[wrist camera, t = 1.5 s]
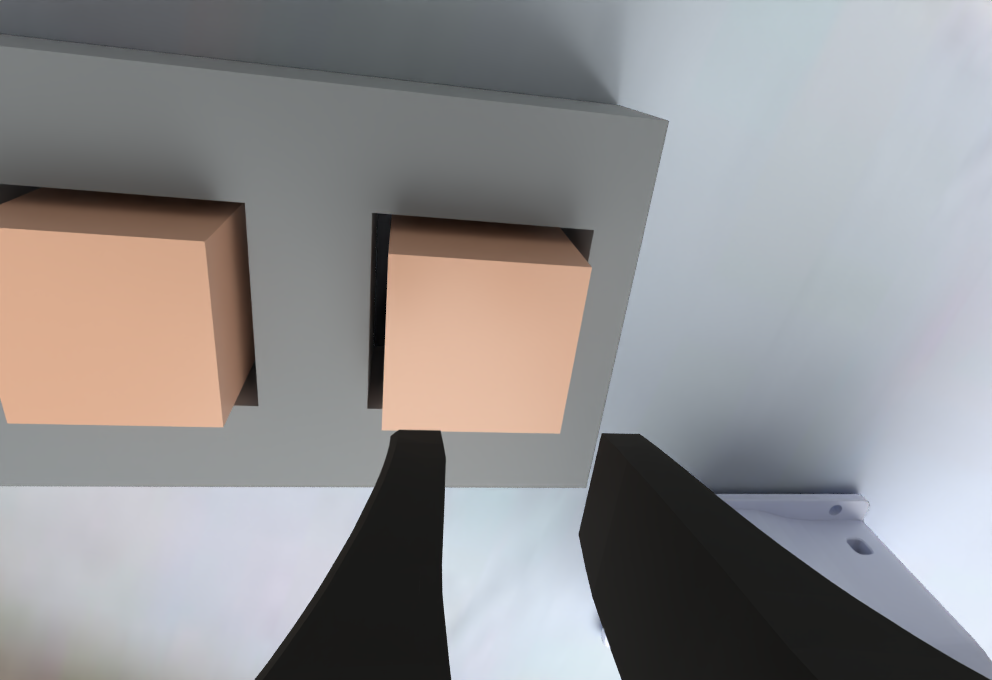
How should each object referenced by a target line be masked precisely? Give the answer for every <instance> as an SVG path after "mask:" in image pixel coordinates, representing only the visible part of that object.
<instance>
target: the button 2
mask: <svg viewBox="0 0 992 680" xmlns="http://www.w3.org/2000/svg"><path fill="white" fill-rule="evenodd" d="M591 271H592V267H591V266H590V264H589V263H588V262H587V261H586V259H585V258H584V257H583V256H582V254H581V253H580V252H579V251H578V249H577V248H576V247H575V246H574V245H573V243H572V242H571V241H570V240H569V238H568V237H567V236H566V235H565V233H564V232H563V231H562V230H561V228H560V227H548V226H536V225H523V224H510V223H497V222H484V221H471V220H458V219H446V218H433V217H420V216H407V215H394V214H392V217H391V229H390V240H389V252H388V276H387V302H386V329H385V355H384V382H383V408H382V430H390V431H398V430H441V431H445V432H499V433H554V434H560V431H561V426H562V421H563V416H564V411H565V405H566V400H567V395H568V390H569V385H570V379H571V374H572V369H573V364H574V359H575V354H576V348H577V343H578V338H579V333H580V328H581V322H582V317H583V312H584V307H585V302H586V296H587V291H588V286H589V281H590V276H591Z"/></svg>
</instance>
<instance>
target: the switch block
mask: <svg viewBox="0 0 992 680" xmlns="http://www.w3.org/2000/svg"><path fill="white" fill-rule="evenodd" d="M668 123H669V121H667V120H664V119H661V118H658V117H655V116H652V115H648V114H645V113H642V112H639V111H636V110H633V109H629V108H626V107H623V106H620V105H614V104H605V103H597V102H588V101H579V100H571V99H562V98H553V97H545V96H536V95H527V94H518V93H510V92H501V91H492V90H484V89H475V88H466V87H458V86H449V85H440V84H432V83H423V82H414V81H406V80H397V79H388V78H380V77H371V76H362V75H354V74H345V73H336V72H327V71H319V70H310V69H301V68H293V67H284V66H275V65H267V64H258V63H249V62H241V61H232V60H223V59H215V58H206V57H197V56H189V55H180V54H171V53H163V52H154V51H145V50H136V49H128V48H119V47H110V46H102V45H93V44H84V43H76V42H67V41H58V40H50V39H41V38H32V37H24V36H15V35H6V34H0V204H2V203H5V202H7V201H10V200H12V199H15V198H17V197H20V196H22V195H24V194H27V193H29V192H32V191H34V190H37V189H39V188H42V187H48V188H61V189H73V190H86V191H99V192H112V193H125V194H138V195H150V196H163V197H176V198H189V199H202V200H215V201H227V202H240V203H245V212H246V227H247V242H248V257H249V271H250V286H251V301H252V316H253V331H254V345H255V361H254V363H253V365H252V368H251V370H250V372H249V374H248V376H247V378H246V380H245V382H244V385H243V387H242V389H241V391H240V393H239V395H238V397H237V399H236V401H235V404H234V406H233V408H232V410H231V412H230V414H229V416H228V418H227V421H226V423H225V425H224V427H173V426H118V425H64V424H9V423H7V420H6V417H5V413H4V410H3V406H2V403H1V399H0V486H119V487H374V486H375V484H376V482H377V479H378V477H379V475H380V472H381V470H382V467H383V464H384V461H385V458H386V455H387V452H388V448H389V443H390V436H391V435H392V434H394V433H395V432H396V431H390V430H382V408H383V382H384V355H385V346H374V329H375V295H376V260H377V225H378V213H381V214H394V215H407V216H420V217H433V218H446V219H458V220H471V221H484V222H497V223H510V224H523V225H536V226H548V227H560V228H561V230H562V231H563V232H564V233H565V235H566V236H567V237H568V238H569V240H570V241H571V242H572V243H573V245H574V246H575V247H576V248H577V249H578V251H579V252H580V253H581V254H582V256H583V257H584V258H585V259H586V261H587V262H588V263H589V264H590V266H591V267H592V271H591V276H590V281H589V286H588V291H587V296H586V302H585V307H584V312H583V317H582V322H581V328H580V333H579V338H578V343H577V348H576V354H575V359H574V364H573V369H572V374H571V379H570V385H569V390H568V395H567V400H566V405H565V411H564V416H563V421H562V426H561V431H560V434H554V433H499V432H445V431H441V435H442V439H443V444H444V450H445V455H446V473H445V487H484V488H586V486H587V481H588V477H589V473H590V468H591V464H592V459H593V455H594V450H595V446H596V442H597V437H598V433H599V428H600V424H601V420H602V415H603V411H604V406H605V402H606V397H607V393H608V389H609V384H610V380H611V375H612V371H613V366H614V362H615V358H616V353H617V349H618V344H619V340H620V335H621V331H622V327H623V322H624V318H625V313H626V309H627V305H628V300H629V296H630V291H631V287H632V282H633V278H634V274H635V269H636V265H637V260H638V256H639V251H640V247H641V243H642V238H643V234H644V229H645V225H646V220H647V216H648V212H649V207H650V203H651V198H652V194H653V190H654V185H655V181H656V176H657V172H658V167H659V163H660V159H661V154H662V150H663V145H664V141H665V136H666V132H667V128H668Z"/></svg>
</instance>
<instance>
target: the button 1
mask: <svg viewBox="0 0 992 680" xmlns="http://www.w3.org/2000/svg"><path fill="white" fill-rule="evenodd" d="M254 361H255V345H254V331H253V316H252V301H251V286H250V271H249V257H248V242H247V227H246V212H245V203H240V202H227V201H215V200H202V199H189V198H176V197H163V196H150V195H138V194H125V193H112V192H99V191H86V190H73V189H61V188H48V187H42V188H39V189H37V190H34V191H32V192H29V193H27V194H24V195H22V196H20V197H17V198H15V199H12V200H10V201H7V202H5V203H2V204H0V399H1V403H2V406H3V410H4V413H5V417H6V420H7V423H9V424H64V425H118V426H173V427H224V425H225V423H226V421H227V418H228V416H229V414H230V412H231V410H232V408H233V406H234V404H235V401H236V399H237V397H238V395H239V393H240V391H241V389H242V387H243V385H244V382H245V380H246V378H247V376H248V374H249V372H250V370H251V368H252V365H253V363H254Z"/></svg>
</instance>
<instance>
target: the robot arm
mask: <svg viewBox="0 0 992 680" xmlns="http://www.w3.org/2000/svg"><path fill="white" fill-rule="evenodd" d="M445 473H446V455H445V450H444V444H443V439H442V435H441V430H398V431H396V432H395V433H394V434H392V435H391V436H390V443H389V448H388V452H387V455H386V458H385V461H384V464H383V467H382V470H381V472H380V475H379V477H378V479H377V482H376V484H375V486H374V489H373V491H372V493H371V495H370V497H369V499H368V501H367V503H366V505H365V507H364V509H363V511H362V513H361V515H360V517H359V519H358V521H357V523H356V526H355V527H354V529H353V531H352V533H351V535H350V537H349V539H348V540H347V542H346V544H345V545H344V547H343V549H342V550H341V552H340V554H339V556H338V557H337V559H336V561H335V562H334V564H333V566H332V567H331V569H330V571H329V572H328V574H327V576H326V578H325V579H324V581H323V583H322V584H321V586H320V587H319V589H318V591H317V592H316V594H315V595H314V597H313V598H312V600H311V601H310V603H309V604H308V606H307V607H306V609H305V610H304V612H303V613H302V615H301V616H300V618H299V619H298V621H297V622H296V624H295V625H294V627H293V628H292V629H291V631H290V632H289V634H288V635H287V636H286V638H285V639H284V641H283V642H282V644H281V645H280V646H279V648H278V649H277V651H276V652H275V653H274V655H273V656H272V658H271V659H270V660H269V662H268V663H267V664H266V666H265V667H264V668H263V669H262V671H261V672H260V673H259V675H258V676H257V677H256V679H255V680H451V674H450V666H449V656H448V646H447V636H446V626H445V616H444V606H443V596H442V549H443V524H444V499H445ZM869 506H870V505H869V502H868V501H867V500H866V499H865V498H864V497H863V496H862V495H859V494H714V493H713V492H712V491H711V490H710V489H708V488H707V487H706V486H705V485H703V484H702V483H701V482H700V481H699V480H697V479H696V478H695V477H694V476H692V475H691V474H690V473H689V472H688V471H686V470H685V469H684V468H683V467H681V466H680V465H679V464H678V463H676V462H675V461H674V460H673V459H672V458H670V457H669V456H668V455H667V454H665V453H664V452H663V451H662V450H660V449H659V448H658V447H656V446H655V445H654V444H652V443H651V442H650V441H648V440H647V439H646V438H644V437H643V436H641V435H640V434H609V433H602V435H601V439H600V443H599V448H598V452H597V456H596V461H595V465H594V470H593V474H592V478H591V483H590V487H589V491H588V496H587V500H586V504H585V509H584V513H583V518H582V522H581V526H580V531H579V538H580V543H581V548H582V553H583V558H584V563H585V567H586V572H587V576H588V580H589V584H590V589H591V593H592V597H593V600H594V603H595V606H596V609H597V612H598V615H599V617H600V620H601V623H602V626H603V629H602V632H601V638H602V641H603V644H604V645H605V646H606V647H609V648H610V649H611V652H612V654H613V657H614V660H615V663H616V665H617V668H618V671H619V674H620V677H621V679H622V680H992V661H991V660H990V659H989V657H988V656H987V654H986V653H985V651H984V650H983V649H982V648H981V647H980V646H979V644H978V643H977V642H976V641H975V640H974V639H973V638H972V636H971V635H970V634H969V633H968V632H967V631H966V630H965V629H964V628H963V627H962V626H961V625H960V624H959V623H958V622H957V621H956V619H955V618H954V617H953V616H952V615H951V614H950V613H949V612H948V611H947V610H946V609H945V608H944V607H943V606H942V605H941V604H940V603H939V601H938V600H937V599H936V598H935V597H934V596H933V595H932V594H931V593H930V592H929V591H928V590H927V589H926V588H925V587H924V586H923V585H922V583H921V582H920V581H919V580H918V579H917V578H916V577H915V576H914V575H913V574H912V573H911V572H910V571H909V570H908V569H907V568H906V567H905V565H904V564H903V563H902V562H901V561H900V560H899V559H898V558H897V557H896V556H895V555H894V554H893V553H892V552H891V551H890V550H889V549H888V547H887V546H886V545H885V544H884V543H883V542H882V541H881V540H880V539H879V538H878V537H877V536H876V535H875V534H874V533H873V532H872V531H871V529H870V528H869V527H868V526H867V525H866V524H865V523H864V522H863V520H864V518H865V516H866V514H867V512H868V510H869Z"/></svg>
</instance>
